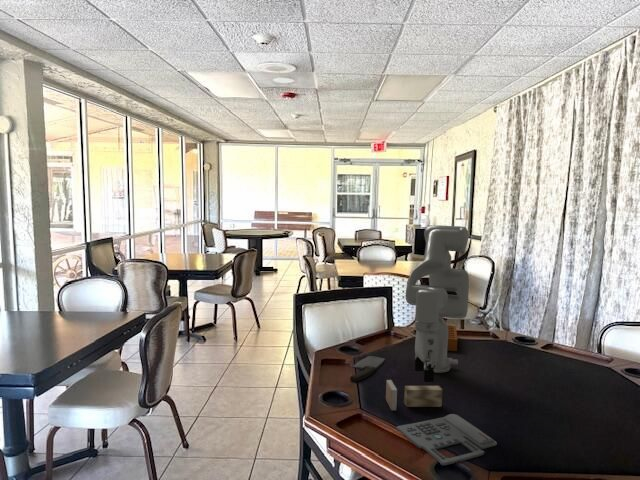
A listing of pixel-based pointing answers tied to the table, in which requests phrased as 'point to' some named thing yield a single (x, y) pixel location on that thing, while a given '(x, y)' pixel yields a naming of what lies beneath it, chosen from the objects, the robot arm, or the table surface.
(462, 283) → the robot arm
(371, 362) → the cleaver
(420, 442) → the office telephone
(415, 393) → the tan wooden block
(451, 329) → the brick
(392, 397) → the tile
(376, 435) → the table surface
